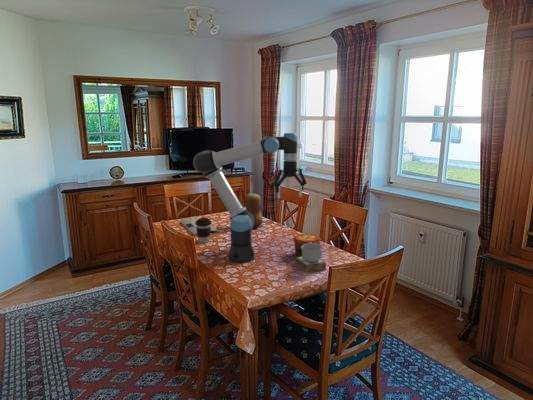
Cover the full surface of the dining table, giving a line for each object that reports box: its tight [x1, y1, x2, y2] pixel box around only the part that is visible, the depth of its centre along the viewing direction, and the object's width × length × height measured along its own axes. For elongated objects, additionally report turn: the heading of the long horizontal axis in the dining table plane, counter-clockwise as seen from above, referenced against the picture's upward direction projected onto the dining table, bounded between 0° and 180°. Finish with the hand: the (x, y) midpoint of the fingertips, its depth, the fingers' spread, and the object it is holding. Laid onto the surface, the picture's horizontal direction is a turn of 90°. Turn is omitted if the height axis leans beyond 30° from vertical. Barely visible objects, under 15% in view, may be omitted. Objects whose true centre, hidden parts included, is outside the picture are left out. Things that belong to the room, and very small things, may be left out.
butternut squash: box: [244, 192, 264, 230], centre depth 264 cm, size 14×13×25 cm
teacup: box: [301, 242, 323, 262], centre depth 195 cm, size 14×11×8 cm
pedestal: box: [295, 256, 327, 274], centre depth 196 cm, size 12×12×4 cm
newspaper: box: [179, 217, 220, 237], centre depth 268 cm, size 37×19×3 cm, turn 27°
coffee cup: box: [195, 217, 212, 244], centre depth 235 cm, size 10×10×15 cm
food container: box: [292, 233, 322, 257], centre depth 213 cm, size 16×16×11 cm
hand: (289, 197), depth 214 cm, fingers open, 13 cm apart
